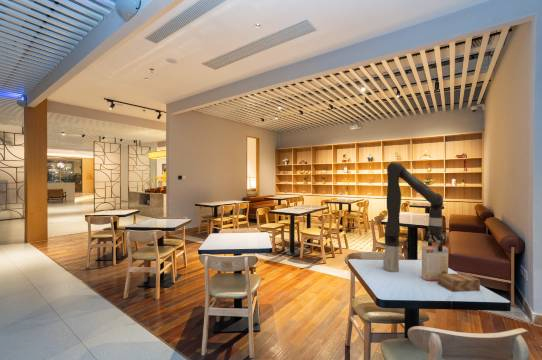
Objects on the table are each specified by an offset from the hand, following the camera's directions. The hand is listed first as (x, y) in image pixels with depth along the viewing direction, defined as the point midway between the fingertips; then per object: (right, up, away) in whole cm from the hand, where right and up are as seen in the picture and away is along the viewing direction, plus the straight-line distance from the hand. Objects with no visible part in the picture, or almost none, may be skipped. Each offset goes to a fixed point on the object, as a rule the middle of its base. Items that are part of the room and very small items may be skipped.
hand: (435, 249), depth 174 cm
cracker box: (0, -19, 0) cm, 19 cm away
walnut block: (+6, -19, -12) cm, 23 cm away
